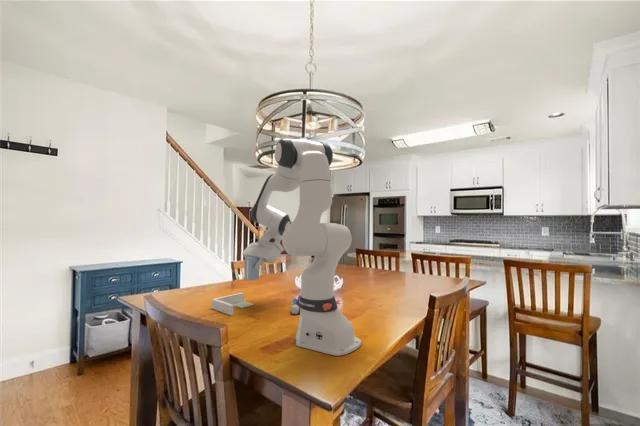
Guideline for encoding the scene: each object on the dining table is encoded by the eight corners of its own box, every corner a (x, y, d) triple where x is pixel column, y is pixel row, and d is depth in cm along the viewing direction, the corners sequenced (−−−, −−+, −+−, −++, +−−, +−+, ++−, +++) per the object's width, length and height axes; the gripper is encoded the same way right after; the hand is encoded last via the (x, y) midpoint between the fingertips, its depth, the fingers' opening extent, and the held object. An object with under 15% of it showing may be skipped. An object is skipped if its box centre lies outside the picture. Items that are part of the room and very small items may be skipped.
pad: (254, 304, 146) (254, 304, 146) (241, 308, 140) (241, 307, 140) (244, 301, 150) (244, 301, 150) (232, 304, 145) (232, 304, 145)
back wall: (243, 301, 151) (243, 292, 151) (213, 308, 138) (213, 299, 138) (242, 300, 151) (242, 292, 151) (211, 308, 139) (211, 299, 139)
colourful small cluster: (310, 316, 131) (310, 299, 131) (287, 314, 133) (287, 297, 133) (314, 310, 139) (315, 293, 139) (293, 308, 141) (293, 292, 141)
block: (258, 278, 142) (259, 257, 142) (250, 280, 139) (250, 258, 139) (252, 277, 145) (252, 256, 145) (244, 278, 142) (244, 257, 141)
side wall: (233, 314, 131) (233, 305, 131) (230, 315, 130) (231, 305, 130) (215, 308, 139) (215, 299, 139) (213, 308, 138) (213, 299, 138)
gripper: (250, 237, 154) (232, 259, 146) (279, 240, 140) (261, 265, 133) (257, 245, 157) (240, 267, 150) (286, 249, 144) (269, 274, 137)
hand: (250, 266), depth 141 cm, fingers closed on block, 4 cm apart
